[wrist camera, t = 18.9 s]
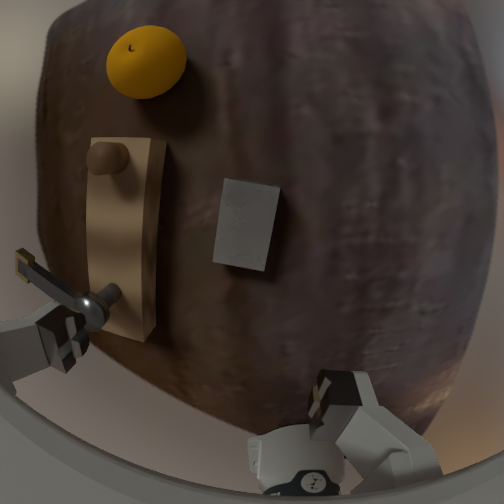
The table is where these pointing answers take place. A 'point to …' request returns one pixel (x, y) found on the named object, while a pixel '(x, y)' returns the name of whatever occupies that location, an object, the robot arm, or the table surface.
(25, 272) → the lever
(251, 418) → the table surface
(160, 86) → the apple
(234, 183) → the lever cap
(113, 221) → the plane body
